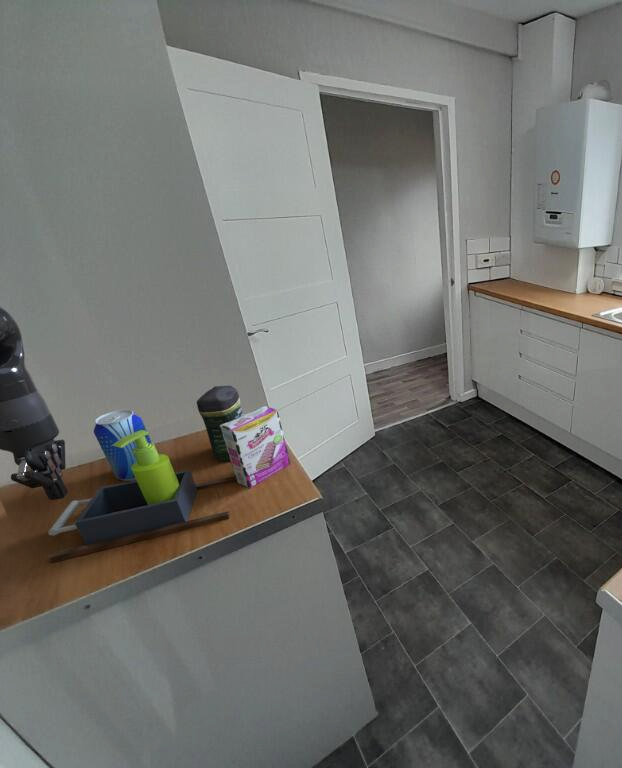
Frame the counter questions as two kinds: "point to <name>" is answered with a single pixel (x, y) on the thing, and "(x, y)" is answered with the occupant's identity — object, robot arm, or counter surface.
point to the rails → (149, 533)
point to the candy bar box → (256, 446)
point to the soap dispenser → (151, 469)
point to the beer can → (112, 431)
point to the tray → (127, 511)
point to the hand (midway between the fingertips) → (59, 496)
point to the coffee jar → (219, 416)
